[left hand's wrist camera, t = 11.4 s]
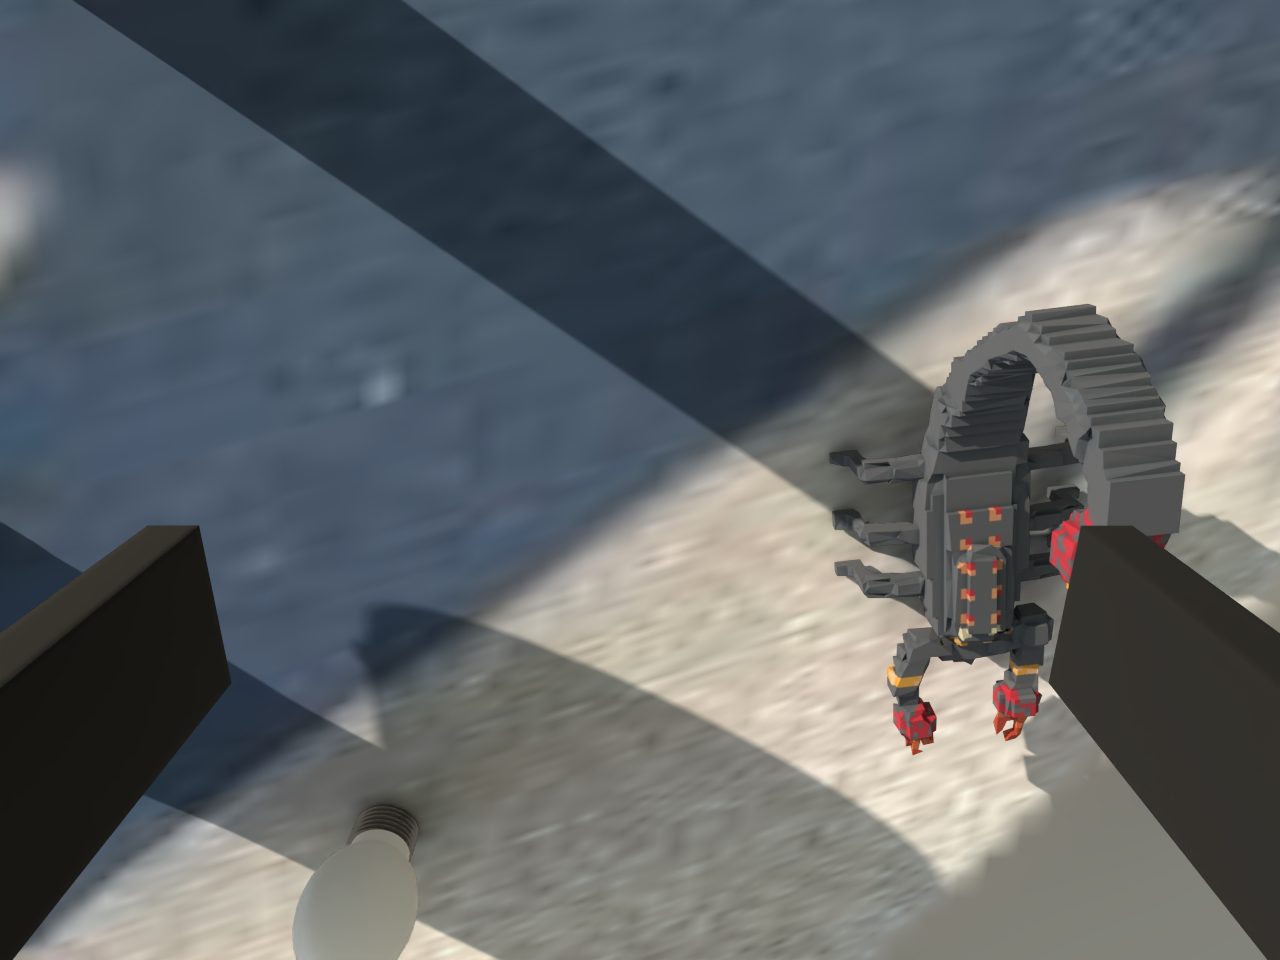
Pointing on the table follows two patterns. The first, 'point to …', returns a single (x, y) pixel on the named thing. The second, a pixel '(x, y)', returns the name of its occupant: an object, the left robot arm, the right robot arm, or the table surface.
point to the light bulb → (362, 893)
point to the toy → (1014, 498)
